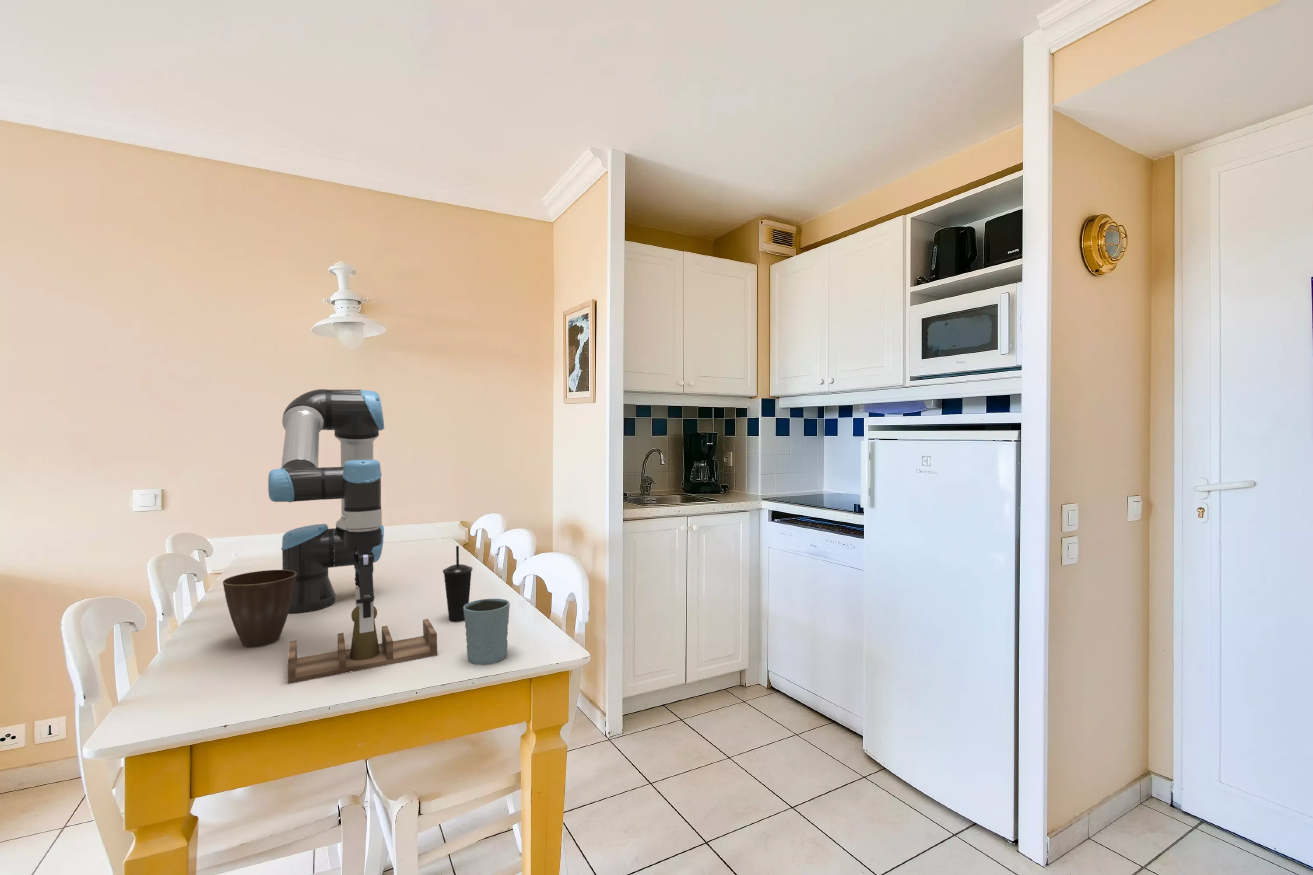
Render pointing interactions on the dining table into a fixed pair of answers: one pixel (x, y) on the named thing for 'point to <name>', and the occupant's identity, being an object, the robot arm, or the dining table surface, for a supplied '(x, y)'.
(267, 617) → the plant pot
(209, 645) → the dining table surface
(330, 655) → the spice rack
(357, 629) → the olive peg figure
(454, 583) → the drinking cup
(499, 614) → the grey-green tumbler
